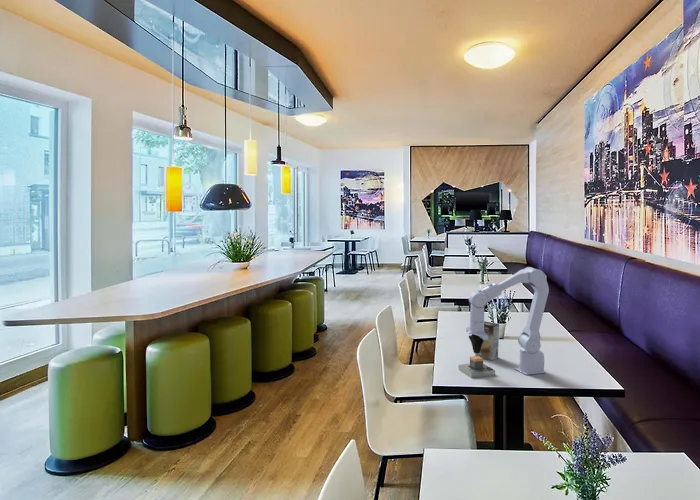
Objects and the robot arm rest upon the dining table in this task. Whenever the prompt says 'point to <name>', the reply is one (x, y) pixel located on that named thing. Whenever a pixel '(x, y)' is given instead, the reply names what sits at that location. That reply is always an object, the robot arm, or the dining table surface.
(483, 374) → the socket plate
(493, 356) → the coffee box
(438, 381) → the dining table surface
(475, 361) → the plug
